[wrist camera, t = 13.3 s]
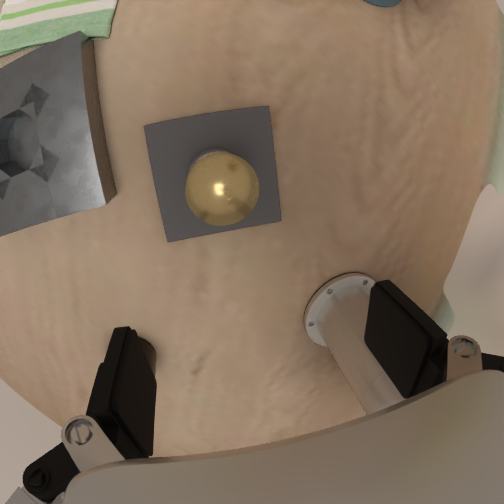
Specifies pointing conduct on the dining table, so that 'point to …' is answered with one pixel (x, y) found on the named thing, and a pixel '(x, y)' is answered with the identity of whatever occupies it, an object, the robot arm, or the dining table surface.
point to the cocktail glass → (383, 2)
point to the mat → (202, 138)
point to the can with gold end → (221, 187)
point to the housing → (52, 135)
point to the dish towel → (52, 21)
